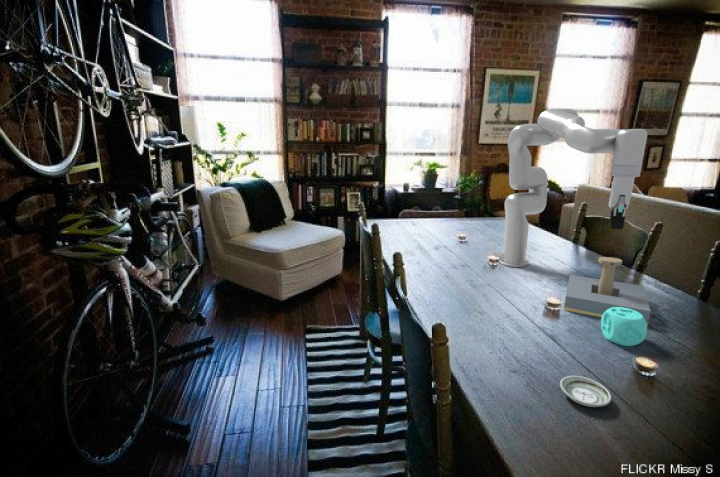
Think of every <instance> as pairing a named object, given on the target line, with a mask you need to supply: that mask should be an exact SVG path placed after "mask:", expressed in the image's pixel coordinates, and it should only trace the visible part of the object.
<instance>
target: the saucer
mask: <svg viewBox="0 0 720 477" xmlns="http://www.w3.org/2000/svg"><path fill="white" fill-rule="evenodd" d="M559 387H560V389H561V391H562V393H564V395H566V396H567V397H568V398H569V399H570V400H572V401H573V402H575V403H577V404H579V405H582V406H585V407H589V408H590V407H591V408H599V407H605V406H607V405H609V404H610V403H611V401H612V395H611V393H610V391H609V390H608V389H607V388H606V387H605V386H604V385H603V384H601V383H600V382H598V381H596V380H593V379H591V378H588V377H586V376H585V377H584V376H580V375H568V376H565V377H563V378H561V379H560V381H559Z"/></svg>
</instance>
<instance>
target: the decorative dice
mask: <svg viewBox="0 0 720 477" xmlns="http://www.w3.org/2000/svg"><path fill="white" fill-rule="evenodd" d="M600 329H601V332H602V334H603V337H605V339H607V340H608V341H610V343H613V344H615V345H620V346H624V347H625V346H626V347H634V346H637V345H639V344H641V343H642V342H644V341H645V339H646V337H647V334H648V326H647V324H646V321H645V319H644V317H643V316H642V315H641V314H640V313H639V312H637V311H635V310H632V309H628V308H624V307H612V308H609V309H608V310H606V311H605V312H604V313H603V315H602V317H600Z"/></svg>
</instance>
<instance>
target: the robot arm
mask: <svg viewBox="0 0 720 477" xmlns="http://www.w3.org/2000/svg"><path fill="white" fill-rule="evenodd" d="M560 139H563V140H564V141H565V143H566V145H567V146H569V147H570V148H572V149H574V150H577V151H579V152H581V153H585V154H591V155H592V154H595V155H596V154H613V155H612V159H611V160H612V161H611V167H610V171H609V172H610V174H609V176H610V177H613V179H612V183H611V188H610V194H609V199H608V208H609V209H611V211H610V218H609V222H610V229H613V230H623V229H624V224H625V219H626V210H627V209H628V208H629V206H630V202H631V199H632V198H631V197H632V194H633V193H632V192H633V189H634V183H635V178H637V177H638V178H639V177H640V176H641V172H642V167H643V166H642V165H643V160H644V157H645V156H644V155H645V149H646V145H647V140H648V131H647V129H643V128H636V129H635V128H628V129H622V128H621V129H620V128H590V127H588V126H586V122H585V119H584V118H583V117H582V116H579V114H578V112H577V111H576V110H575V109H572V108H549V109H546V110H544V111H542V112H541V113H540V114H539V116H538V118H537V123H524V124H520V125H519V124H518V125H516V126H515V127H514V128H513V129H512V130H511V131H510V133H509V135H508V139H507V148H508V154H509V155H508V156H509V165H508V166H509V167H508V183H509V187H510V188H511V189H512V190H517V191H518V190H519V191H520V190H521V191H522V190H528V191H527V192H518V193H517V192H516V193H512V194H510V195H508V196H506V198H505V200H504V212H505V213H504V214H505V222H504V223H505V224H504V236H503V248H502V249H503V250H502V251H496V250H493V252H492V256H494V257H496V258H499V259H498V263H499V262H500V265H503V266H506V267H511V268H524V267H525V268H526V267H527V266H529V264H530V263H529V260H528V259H526V256H527V246H528V237H529V236H528V235H529V225H530V224H529V221H528V219H527V217H526V216H528V215H535V214H541V213H542V212H543V211H544V210H545V208H546V206H547V201H548V199H547V198H548V173H547V172H546V170H545V169H544V168H543V167H541V166H532V154H531V152H530V149H529V148H528V146H547V145H551V144H553V143H556V141H558V140H560Z"/></svg>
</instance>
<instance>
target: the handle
mask: <svg viewBox="0 0 720 477" xmlns="http://www.w3.org/2000/svg"><path fill="white" fill-rule="evenodd" d="M598 263H599V264H600V265H602V271H601V274H600V282H599V288H598V294H602V295H608V296H611V295H612V290H613V284H614V281H615V275H616V274H615V271H616V268H617V267H621V266H622V265H623V260H622V259H621V258H619V257H618V258H617V257H611V256H610V257H609V256H608V257H607V256H600V257H598Z"/></svg>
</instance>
